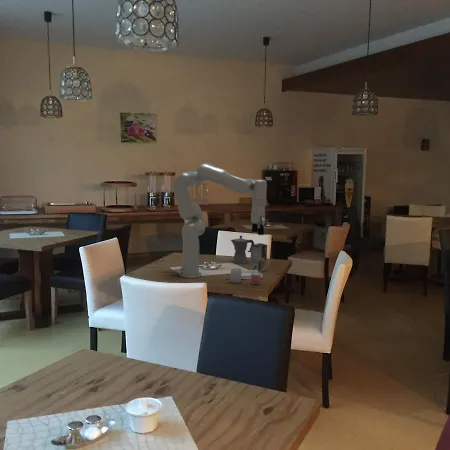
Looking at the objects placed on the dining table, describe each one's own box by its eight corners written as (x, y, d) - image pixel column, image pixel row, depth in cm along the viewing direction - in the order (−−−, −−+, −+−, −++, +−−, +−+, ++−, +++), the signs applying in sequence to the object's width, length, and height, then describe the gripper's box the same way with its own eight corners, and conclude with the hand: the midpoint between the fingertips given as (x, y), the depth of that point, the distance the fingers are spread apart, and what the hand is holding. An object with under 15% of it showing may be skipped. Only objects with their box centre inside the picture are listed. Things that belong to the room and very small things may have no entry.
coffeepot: (228, 263, 331) (229, 236, 328) (230, 260, 340) (231, 233, 337) (252, 265, 329) (253, 237, 326) (253, 262, 338) (255, 235, 335)
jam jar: (252, 285, 282) (253, 274, 281) (249, 282, 287) (250, 272, 286) (261, 284, 283) (262, 274, 282) (258, 282, 288) (258, 271, 287)
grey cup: (232, 283, 283) (232, 271, 282) (229, 280, 289) (229, 268, 288) (242, 283, 285) (242, 270, 284) (239, 280, 290) (239, 268, 289)
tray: (241, 279, 292) (241, 275, 291) (234, 274, 303) (235, 270, 303) (262, 278, 295) (262, 274, 295) (255, 273, 307) (255, 269, 306)
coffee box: (258, 268, 321) (259, 242, 319) (266, 270, 317) (267, 244, 315) (249, 270, 314) (250, 244, 312) (258, 272, 310) (259, 246, 308)
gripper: (247, 200, 285) (246, 230, 288) (257, 204, 269) (256, 236, 271) (260, 200, 287) (258, 230, 290) (271, 204, 271) (269, 236, 273)
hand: (257, 233), depth 280 cm, fingers open, 9 cm apart
